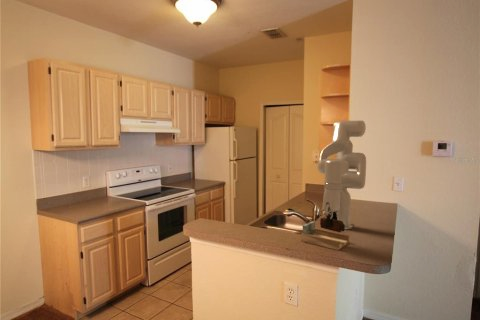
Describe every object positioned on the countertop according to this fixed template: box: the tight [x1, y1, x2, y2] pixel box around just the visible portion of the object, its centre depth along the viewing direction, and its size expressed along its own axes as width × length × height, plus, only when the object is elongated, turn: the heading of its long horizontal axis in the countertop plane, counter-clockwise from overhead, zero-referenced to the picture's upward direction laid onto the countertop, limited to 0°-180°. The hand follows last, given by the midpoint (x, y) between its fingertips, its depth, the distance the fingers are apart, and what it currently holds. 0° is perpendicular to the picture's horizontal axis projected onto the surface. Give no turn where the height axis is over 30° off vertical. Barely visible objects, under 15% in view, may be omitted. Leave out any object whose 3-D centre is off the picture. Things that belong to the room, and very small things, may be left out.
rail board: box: [300, 220, 350, 251], centre depth 138 cm, size 13×18×7 cm
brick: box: [319, 216, 346, 233], centre depth 135 cm, size 11×4×5 cm, turn 41°
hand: (331, 225), depth 136 cm, fingers closed on brick, 4 cm apart
